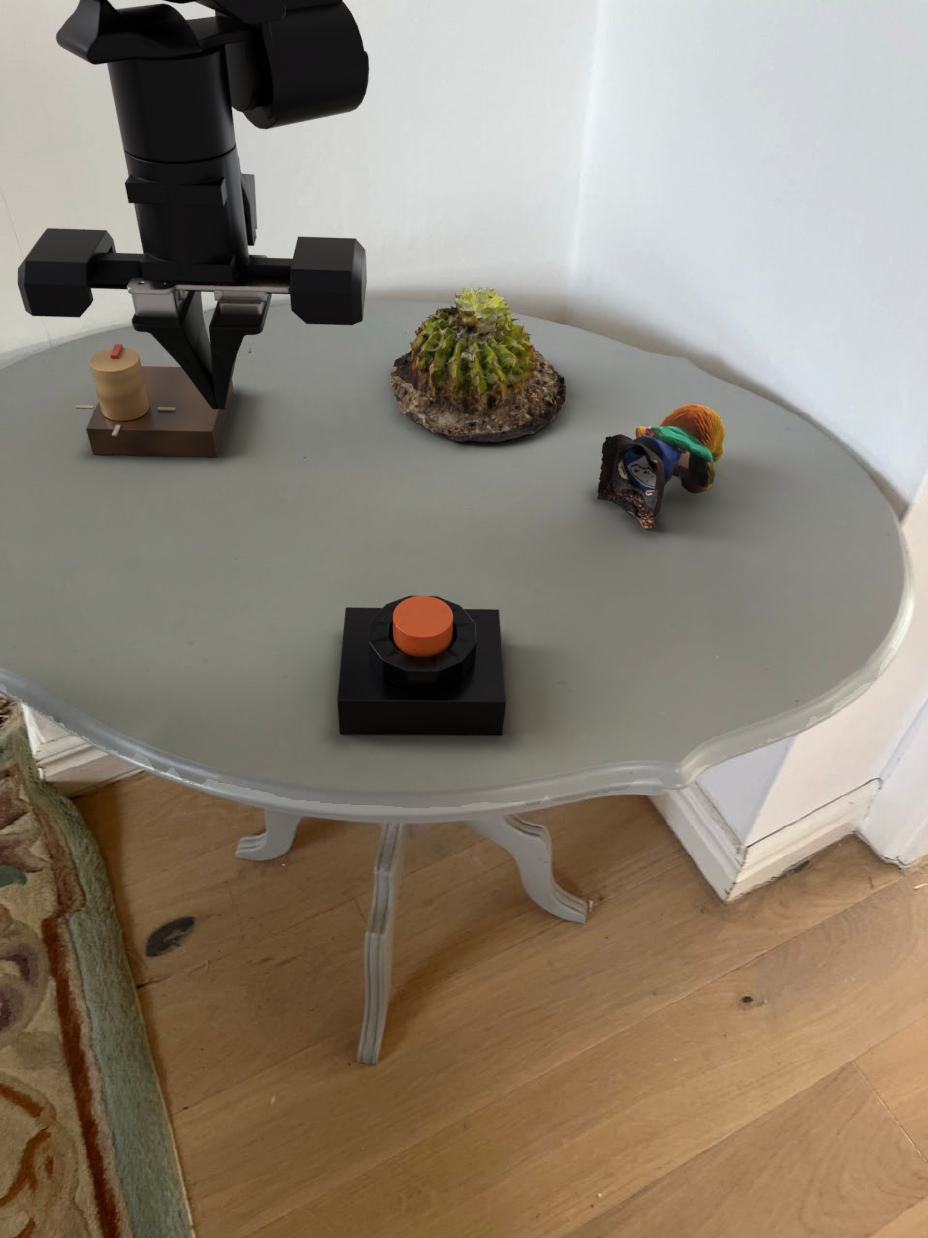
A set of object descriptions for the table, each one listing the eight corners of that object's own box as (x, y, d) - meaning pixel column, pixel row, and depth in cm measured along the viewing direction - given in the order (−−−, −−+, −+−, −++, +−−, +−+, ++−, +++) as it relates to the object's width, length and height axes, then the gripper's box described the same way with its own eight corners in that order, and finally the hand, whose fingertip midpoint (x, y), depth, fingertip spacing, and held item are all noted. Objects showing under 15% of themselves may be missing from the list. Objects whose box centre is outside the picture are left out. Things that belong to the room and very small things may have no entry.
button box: (339, 734, 59) (335, 679, 55) (347, 641, 64) (344, 586, 61) (502, 736, 59) (508, 681, 56) (496, 643, 65) (501, 588, 61)
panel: (70, 461, 78) (62, 433, 76) (103, 389, 85) (97, 362, 84) (214, 464, 78) (209, 436, 76) (234, 393, 86) (230, 366, 84)
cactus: (574, 449, 82) (589, 344, 75) (386, 444, 81) (385, 338, 75) (557, 349, 94) (568, 251, 88) (394, 344, 94) (393, 245, 87)
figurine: (687, 446, 83) (701, 382, 79) (749, 493, 78) (768, 427, 74) (581, 485, 78) (591, 419, 74) (640, 536, 74) (654, 469, 70)
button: (392, 657, 57) (392, 636, 56) (393, 615, 60) (393, 594, 59) (452, 658, 57) (453, 637, 56) (451, 616, 60) (452, 595, 59)
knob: (145, 421, 78) (133, 368, 74) (97, 420, 77) (83, 367, 74) (153, 396, 80) (142, 343, 77) (107, 395, 80) (94, 343, 77)
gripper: (367, 103, 56) (373, 347, 67) (41, 90, 55) (101, 339, 66) (357, 172, 48) (365, 436, 59) (-24, 158, 47) (55, 429, 58)
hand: (219, 406), depth 61 cm, fingers closed
